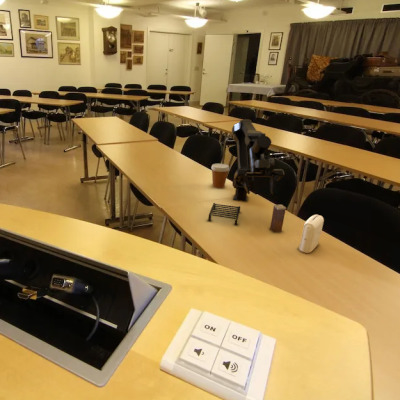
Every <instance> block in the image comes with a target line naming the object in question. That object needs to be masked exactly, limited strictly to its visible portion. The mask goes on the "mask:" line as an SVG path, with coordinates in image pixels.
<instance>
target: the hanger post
mask: <svg viewBox="0 0 400 400" xmlns="http://www.w3.org/2000/svg"><path fill="white" fill-rule="evenodd" d="M286 210H287V207H286V206H284V205H283V204H273V209H272V215H271V220H270V226H269V229H270V230H271V231H272V232H273V233H281V232H283V227H284V226H283V225H284V220H285V215H286Z"/></svg>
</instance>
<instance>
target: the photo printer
mask: <svg viewBox="0 0 400 400" xmlns="http://www.w3.org/2000/svg"><path fill="white" fill-rule="evenodd" d="M324 222H325V218H324V217H323V216H322V215H319V214H313V215H311V216H310V217H309V218H308V219H307V220H305V222H304V225H303V228H302V232H301V238H300V242H299V245H298V249H299V251H300V252H302V253H306V254H308V253H311V252H313V251H314V250H315V248H316V247H317V246H318V245H319V242H320V239H321V235H322V230H323V226H324Z"/></svg>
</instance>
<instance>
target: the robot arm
mask: <svg viewBox="0 0 400 400" xmlns="http://www.w3.org/2000/svg"><path fill="white" fill-rule="evenodd" d="M231 135H232V139H233V140H234V142H235V143H236V152H237V153H236V154H237V169H236V171H235V172H234V175H233V180H232V187H233V188H234V190H235V191H234V195H233V201H241V202H248V198H249V196H248V195H250V193H251V191H250V190H251V189H253V186H254V183H255V178H269V181H268V182H269V183H268V184H269V192H270V194H271V195H273V194H274V192H275V188H276V184H277V182H279V181H280V180H282V178H283V177H284V176H285V170H283V169H282V168H274V169H272V170H271V171H268V170H269V169H270V168H271V167H274V166H275V162H276V161H275V158H274V157H269V158H267V159H266V158H265V153H267V151H268V150H269V148H270V147H271V145H272V139H271V138H270V137H269V136H267V134H266V133H264V132H262V131H261V130H257V129H256V127H255V126H254V125H253V121H252V120H251V119H241V120H239V121H238V122H237V123H235V124H233V126H232V128H231ZM248 147H250V148H249V150H248V149H247V148H248ZM248 155H249V158H248ZM248 159H249V161H248Z"/></svg>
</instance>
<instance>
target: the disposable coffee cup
mask: <svg viewBox="0 0 400 400" xmlns="http://www.w3.org/2000/svg"><path fill="white" fill-rule="evenodd" d="M229 166H230V165H229V164H226V163H213V164H212V165H211V167H210V168H211V176H212V177H211V178H212V179H211V180H212V187H213V188H215V189H224V188H225V186H226V182H227V178H228V173H229V170H230V167H229Z"/></svg>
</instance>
